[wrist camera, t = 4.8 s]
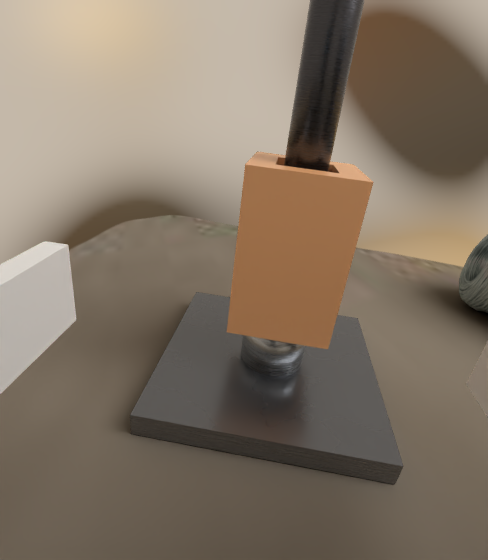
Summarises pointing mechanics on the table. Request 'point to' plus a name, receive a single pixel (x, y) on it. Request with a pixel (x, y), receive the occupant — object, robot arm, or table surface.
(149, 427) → the stand
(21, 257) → the robot arm
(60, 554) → the table surface
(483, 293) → the spool
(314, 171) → the sleeve
